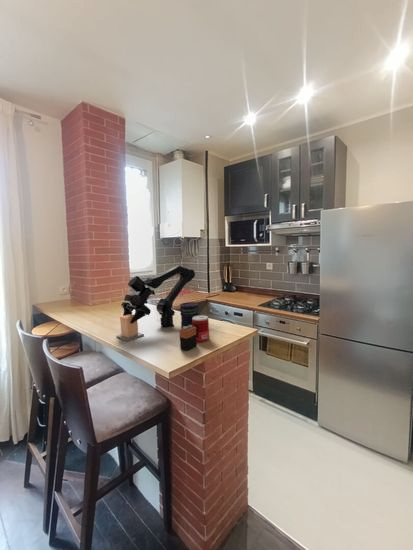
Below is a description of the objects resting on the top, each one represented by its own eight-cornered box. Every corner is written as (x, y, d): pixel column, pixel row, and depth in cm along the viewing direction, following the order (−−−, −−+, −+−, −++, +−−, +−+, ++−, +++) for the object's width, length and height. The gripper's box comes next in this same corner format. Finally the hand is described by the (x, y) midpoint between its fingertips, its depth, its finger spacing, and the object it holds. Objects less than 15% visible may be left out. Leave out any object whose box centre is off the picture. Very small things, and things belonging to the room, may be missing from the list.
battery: (179, 349, 114) (178, 327, 113) (189, 344, 119) (188, 323, 118) (187, 351, 111) (186, 328, 110) (197, 346, 117) (196, 324, 116)
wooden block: (131, 332, 138) (130, 314, 137) (138, 334, 134) (136, 315, 133) (121, 335, 133) (120, 316, 132) (128, 337, 130) (126, 318, 129)
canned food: (211, 337, 127) (210, 315, 126) (206, 343, 120) (204, 320, 119) (196, 336, 130) (195, 314, 129) (190, 341, 123) (189, 319, 121)
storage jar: (203, 329, 140) (201, 302, 139) (194, 335, 131) (193, 306, 130) (187, 328, 144) (185, 301, 143) (177, 333, 135) (176, 305, 134)
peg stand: (133, 332, 141) (133, 324, 141) (143, 336, 134) (143, 327, 134) (116, 337, 134) (115, 329, 133) (126, 341, 127) (125, 332, 126)
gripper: (122, 287, 140) (105, 311, 133) (144, 289, 129) (127, 316, 121) (135, 298, 147) (120, 322, 140) (157, 301, 136) (141, 328, 128)
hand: (126, 322), depth 132 cm, fingers open, 7 cm apart
